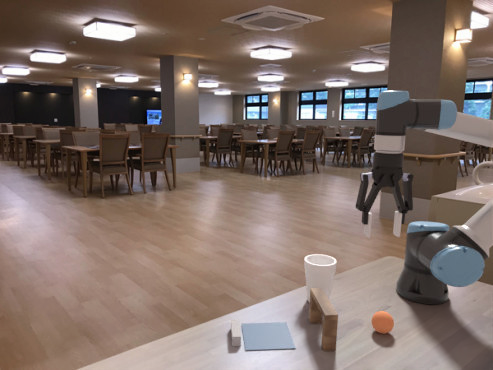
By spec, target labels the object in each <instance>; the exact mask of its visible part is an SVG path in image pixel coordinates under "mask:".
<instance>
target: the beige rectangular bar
mask: <svg viewBox="0 0 493 370" xmlns="http://www.w3.org/2000/svg"><path fill="white" fill-rule="evenodd" d="M230 335H231V344H232V347H241V346H242V344H241V343H242V336H241V327H240V321H239V319H230Z"/></svg>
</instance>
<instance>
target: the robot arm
mask: <svg viewBox="0 0 493 370" xmlns="http://www.w3.org/2000/svg"><path fill="white" fill-rule="evenodd" d="M375 110H376V116H375V133H374V143H373V145H374V146H373V149H374V150H375V151H374V152H373V155H372V157H373V158H372V169H371V171H369V172H366V173H365V172H360V175H359V177H360V185H359V188H358V189H359V190H358V194H357V198H356V201H355V209H356V210H357V211H359V212H361V223H362V225H364V227H363V228H364V229H363V235H364V236H365V237H366V238H371V233H372V231H371V230H372V220H373V219H372V218H373V213H372V212H371V210H372V207H373V205H374V203H375V201H376V199H377V198H378V194H380V193H379V192H380V191H381V190H382V188H387V187H388V188H390V189H391V192H392V196H393V197H394V201H395V204H396V208H397V210H395V211H394V217H393V219H394V220H393V227H392V228H393V230H392V235H394V236H395V237H397V238H401V231H402V230H401V229H402V225H404V224H405V219H406V218H405V217H406V214H408V213H409V211H413V210H414V204H413V202H414V201H413V200H414V199H413V185H412V183H413V180H414V174H412V173H409V172H404V171H403V167H404V158H405V157H404V155H405V154H404V153H403V152H404V151H405V144H406V134H407V129H408V130H413V129H414V130H417V131H422V132H426V133H431V134H435V135H438V136H443V137H448V138H452V139H456V140H459V141H465V142H468V143H471V144H476V145H480V146H483V147H489V148H492V149H493V119H488V118H484V117H479V116H477V115H472V114H468V113H464V112H462V111H461V112H460V111H458V107H457V105H456V103H455V102H454V101H453V100H450V99H443V98H442V99H414V98H413V99H412V98H410V92H409V91H408V90H383V91H381V92H379V94H378V98H377V102H376V109H375ZM371 178H372V180H373V183H372V184H371V188H370V191H369V193H368V190H369V184H370V181H371ZM400 180H402V187H403V188H402V189H403V190H402V191H403V196H402V193H401V187H400V183H399V182H400ZM367 193H368V195H367ZM405 240H406V241H405V251H404V260H403V261H404V263H403V268H402V271H401V272H400V275H399V276H398V279H397V280H396V285H395V291H396V292H397V294H398V295H400V297H402V298H404V299H406V300H410V301H412V302H416V303H419V304H425V305H441V304H444V303H446V302H447V301H449V293H450V292H449V288H448V286H450V287H453V288H465V287H468V286H471V285H473V284H475V283H476V282H477V281H479V279H480V278H481V277H482V276H483V274H484V269H485V266H486V264H485V261H486V260H488V259H489V258H490V249H491V247H492V246H493V197H492V198H491V199H490V200H489V201H488V202H487V203H485V204H484V205H483V206H482V207H481V208H480V209H479V210H478V211H477V212H476V213H475V214H473V215H471V217H470V218H469V219H468V220H467V221H466V222H465V223H464V224H462V225H453V226H452V227H450V226H449V225H448V224H446V223H442V222H436V221H412V222H410V223H409V224H408V225H407V231H406V239H405Z"/></svg>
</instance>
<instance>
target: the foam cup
mask: <svg viewBox="0 0 493 370" xmlns="http://www.w3.org/2000/svg"><path fill="white" fill-rule="evenodd" d="M337 264H338V263H337V259H336V258H335V257H333V256H330V255H327V254H321V253H320V254H319V253H314V254H309V255H306V256H304V263H303V268H304V276H305V283H306V284H305V285H306V286H305V289H306V297H307V298H306V299H307V302H308V303H309V304H310V288H322V290H323V291H324V293H325V295H326V296H327V298H328V299H329V301H330V298H331V294H332V289H333V283H334V278H335V273H336V271H337Z"/></svg>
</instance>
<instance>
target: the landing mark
mask: <svg viewBox="0 0 493 370" xmlns="http://www.w3.org/2000/svg"><path fill="white" fill-rule="evenodd" d="M241 328H242V336H243V341H244V348H245V349H244V350H245V352H248V351H251V352H252V351H271V350H272V351H274V350H296V345H295V342H294V340H293V337H292V335H291V331H290V328H289V326H288V323H287V321H284V322H283V321H282V322H281V321H279V322H253V323H252V322H250V323H246V322H245V323H241Z"/></svg>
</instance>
